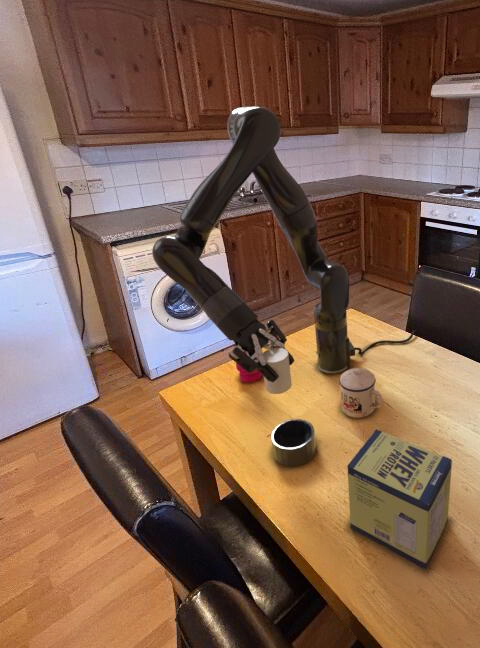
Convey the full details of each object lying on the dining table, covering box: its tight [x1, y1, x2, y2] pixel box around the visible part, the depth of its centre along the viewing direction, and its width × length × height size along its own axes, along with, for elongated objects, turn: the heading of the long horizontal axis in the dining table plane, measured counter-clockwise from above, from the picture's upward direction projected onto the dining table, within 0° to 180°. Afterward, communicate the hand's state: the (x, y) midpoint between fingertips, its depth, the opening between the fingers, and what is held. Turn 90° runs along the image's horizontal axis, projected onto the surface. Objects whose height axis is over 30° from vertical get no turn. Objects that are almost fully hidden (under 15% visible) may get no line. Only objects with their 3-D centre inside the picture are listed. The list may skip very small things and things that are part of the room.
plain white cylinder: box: [263, 348, 293, 395], centre depth 89 cm, size 6×6×8 cm
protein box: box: [346, 429, 453, 570], centre depth 74 cm, size 10×16×16 cm
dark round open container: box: [270, 418, 317, 468], centre depth 93 cm, size 9×9×5 cm
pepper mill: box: [235, 351, 263, 384], centre depth 117 cm, size 7×7×20 cm
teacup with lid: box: [338, 367, 384, 419], centre depth 104 cm, size 12×9×12 cm
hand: (283, 371), depth 88 cm, fingers closed on plain white cylinder, 5 cm apart
